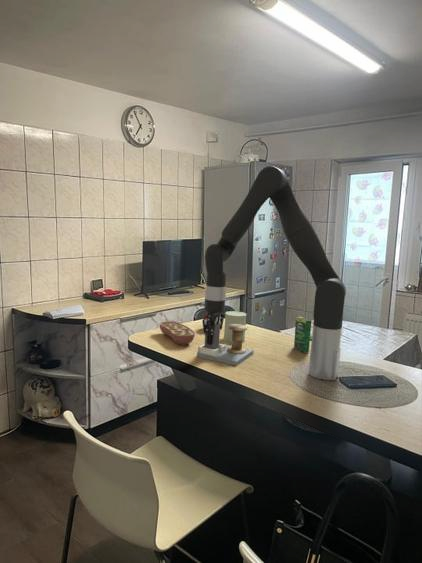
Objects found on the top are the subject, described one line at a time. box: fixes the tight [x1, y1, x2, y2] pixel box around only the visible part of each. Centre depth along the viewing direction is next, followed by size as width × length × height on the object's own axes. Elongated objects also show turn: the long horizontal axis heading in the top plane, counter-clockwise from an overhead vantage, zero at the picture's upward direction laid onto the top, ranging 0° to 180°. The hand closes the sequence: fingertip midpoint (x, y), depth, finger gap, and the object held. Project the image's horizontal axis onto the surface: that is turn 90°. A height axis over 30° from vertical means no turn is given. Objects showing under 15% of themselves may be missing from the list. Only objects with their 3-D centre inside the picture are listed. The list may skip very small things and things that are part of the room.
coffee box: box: [293, 316, 312, 354], centre depth 167 cm, size 8×3×13 cm, turn 17°
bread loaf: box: [159, 321, 196, 346], centre depth 172 cm, size 23×10×5 cm, turn 28°
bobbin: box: [227, 324, 248, 354], centre depth 156 cm, size 7×7×10 cm
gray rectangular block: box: [204, 324, 221, 350], centre depth 154 cm, size 4×4×11 cm
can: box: [222, 310, 247, 344], centre depth 176 cm, size 9×9×12 cm
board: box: [196, 342, 254, 367], centre depth 155 cm, size 16×16×4 cm
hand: (212, 342), depth 154 cm, fingers closed on gray rectangular block, 4 cm apart
